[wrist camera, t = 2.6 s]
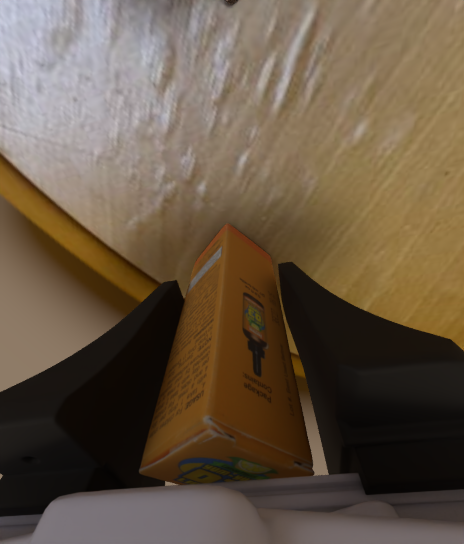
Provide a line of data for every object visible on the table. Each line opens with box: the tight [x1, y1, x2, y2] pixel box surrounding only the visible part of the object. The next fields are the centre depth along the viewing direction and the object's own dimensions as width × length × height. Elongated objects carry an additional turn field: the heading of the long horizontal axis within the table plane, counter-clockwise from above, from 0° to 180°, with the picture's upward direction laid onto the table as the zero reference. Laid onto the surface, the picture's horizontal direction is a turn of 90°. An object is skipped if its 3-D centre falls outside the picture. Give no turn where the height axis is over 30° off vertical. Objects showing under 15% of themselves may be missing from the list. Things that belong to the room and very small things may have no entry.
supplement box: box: [139, 224, 314, 485], centre depth 10 cm, size 3×3×10 cm
